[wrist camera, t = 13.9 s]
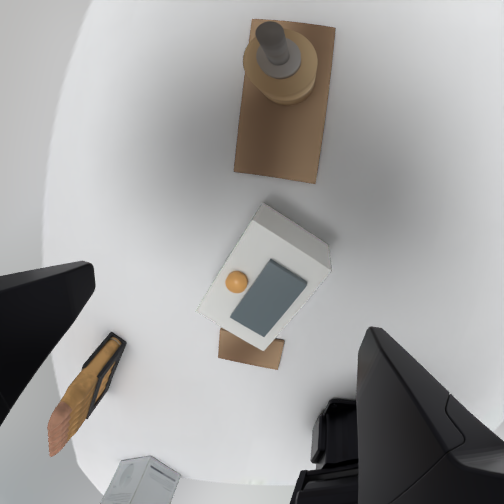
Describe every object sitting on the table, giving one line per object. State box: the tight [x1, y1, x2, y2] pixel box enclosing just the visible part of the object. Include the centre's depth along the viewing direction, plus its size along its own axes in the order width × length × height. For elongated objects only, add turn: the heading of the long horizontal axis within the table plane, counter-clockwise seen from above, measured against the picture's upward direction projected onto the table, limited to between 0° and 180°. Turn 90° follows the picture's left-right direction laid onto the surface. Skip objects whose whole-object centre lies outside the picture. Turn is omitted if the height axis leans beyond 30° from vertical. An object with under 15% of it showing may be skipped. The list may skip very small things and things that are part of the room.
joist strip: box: [218, 19, 335, 370], centre depth 19 cm, size 5×25×1 cm, turn 173°
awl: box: [243, 21, 318, 106], centre depth 12 cm, size 3×3×9 cm
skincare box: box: [100, 456, 181, 504], centre depth 34 cm, size 10×6×10 cm, turn 132°
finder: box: [195, 203, 332, 351], centre depth 19 cm, size 5×7×4 cm
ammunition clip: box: [47, 332, 126, 457], centre depth 23 cm, size 11×2×12 cm, turn 149°
